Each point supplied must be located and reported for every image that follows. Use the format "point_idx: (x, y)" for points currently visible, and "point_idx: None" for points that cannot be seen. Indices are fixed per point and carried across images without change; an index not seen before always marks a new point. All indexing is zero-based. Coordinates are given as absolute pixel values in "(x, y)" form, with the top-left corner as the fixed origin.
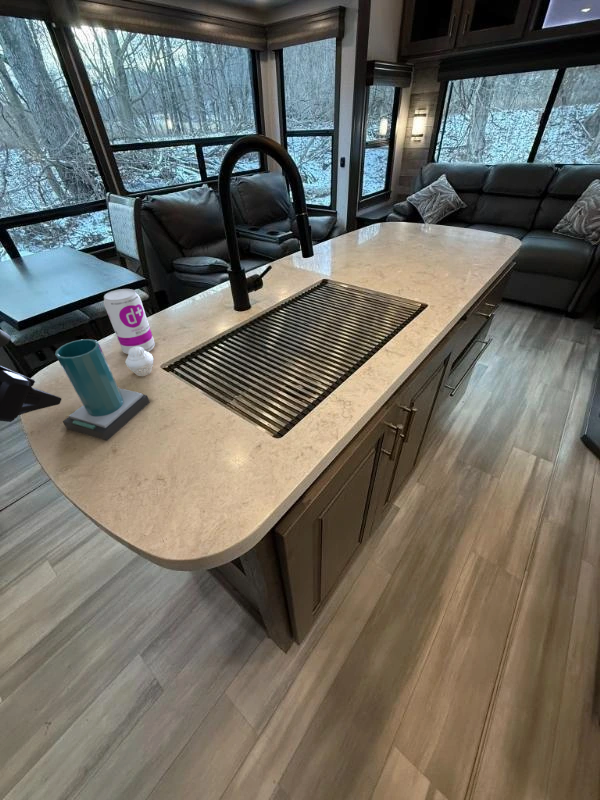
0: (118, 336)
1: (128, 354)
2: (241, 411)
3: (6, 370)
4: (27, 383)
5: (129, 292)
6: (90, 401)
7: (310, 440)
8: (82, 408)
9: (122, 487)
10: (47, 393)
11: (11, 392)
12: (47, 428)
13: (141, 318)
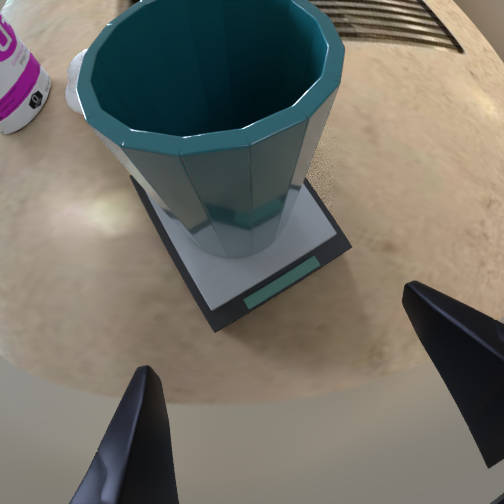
0: None
1: (72, 87)
2: (391, 36)
3: (126, 485)
4: None
5: None
6: (285, 218)
7: (475, 41)
8: (200, 266)
9: (480, 264)
10: (474, 312)
11: None
12: (178, 371)
13: (12, 29)
